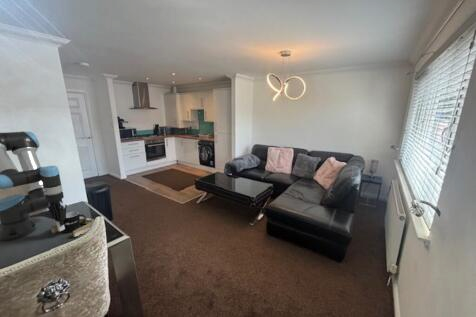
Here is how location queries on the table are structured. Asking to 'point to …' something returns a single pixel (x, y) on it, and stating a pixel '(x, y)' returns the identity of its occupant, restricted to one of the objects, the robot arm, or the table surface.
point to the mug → (72, 221)
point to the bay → (81, 229)
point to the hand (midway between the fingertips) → (61, 229)
